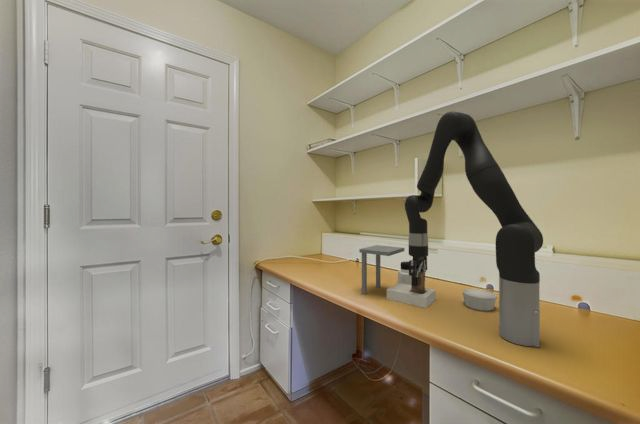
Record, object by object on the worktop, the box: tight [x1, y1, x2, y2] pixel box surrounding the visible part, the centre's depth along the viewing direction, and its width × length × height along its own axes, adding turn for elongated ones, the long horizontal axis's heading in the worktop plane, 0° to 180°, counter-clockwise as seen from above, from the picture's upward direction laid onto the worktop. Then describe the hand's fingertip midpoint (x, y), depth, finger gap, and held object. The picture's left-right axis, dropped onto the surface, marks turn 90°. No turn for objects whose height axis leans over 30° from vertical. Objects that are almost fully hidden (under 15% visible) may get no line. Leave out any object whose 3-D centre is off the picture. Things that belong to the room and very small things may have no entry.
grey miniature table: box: [358, 244, 405, 296], centre depth 115 cm, size 14×16×20 cm
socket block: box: [386, 282, 437, 309], centre depth 106 cm, size 16×12×4 cm
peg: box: [411, 271, 426, 294], centre depth 104 cm, size 4×4×12 cm
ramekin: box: [461, 288, 498, 312], centre depth 98 cm, size 11×11×5 cm
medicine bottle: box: [397, 260, 412, 285], centre depth 124 cm, size 7×7×12 cm
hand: (418, 283), depth 104 cm, fingers open, 8 cm apart
